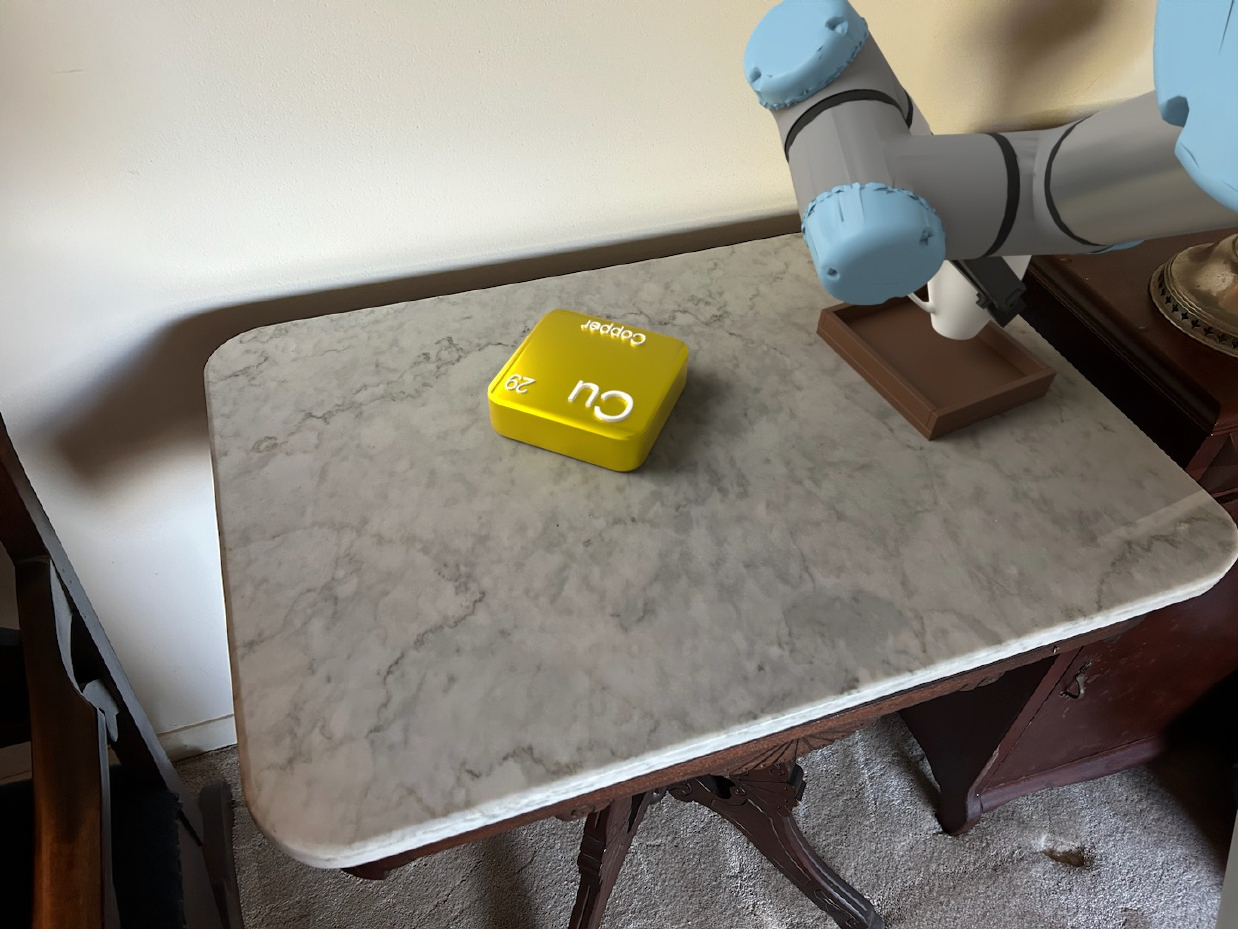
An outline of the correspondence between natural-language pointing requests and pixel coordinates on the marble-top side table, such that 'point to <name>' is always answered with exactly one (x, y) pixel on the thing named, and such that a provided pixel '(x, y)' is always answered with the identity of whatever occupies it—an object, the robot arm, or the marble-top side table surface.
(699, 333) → the marble-top side table surface
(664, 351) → the element tile
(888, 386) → the tray
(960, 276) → the mug
